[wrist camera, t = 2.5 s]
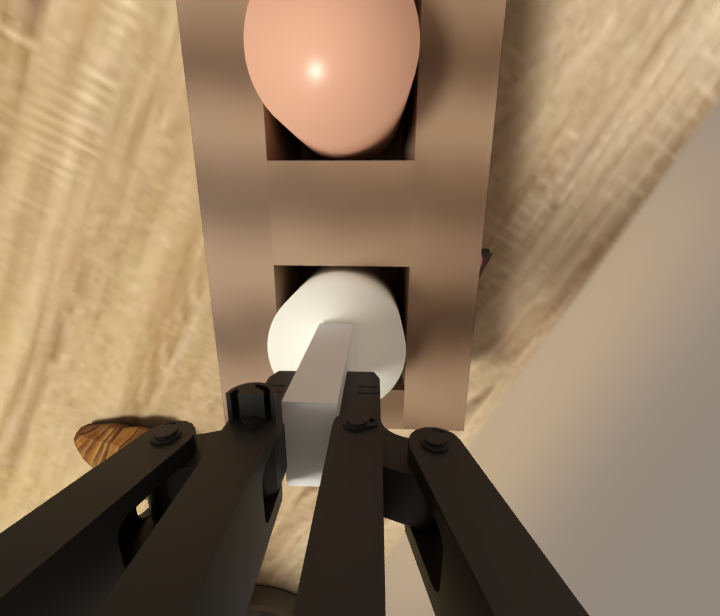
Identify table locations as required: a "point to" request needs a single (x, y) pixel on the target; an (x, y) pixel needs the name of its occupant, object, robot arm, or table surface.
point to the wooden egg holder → (349, 201)
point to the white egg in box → (343, 321)
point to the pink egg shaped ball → (334, 70)
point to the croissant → (105, 440)
